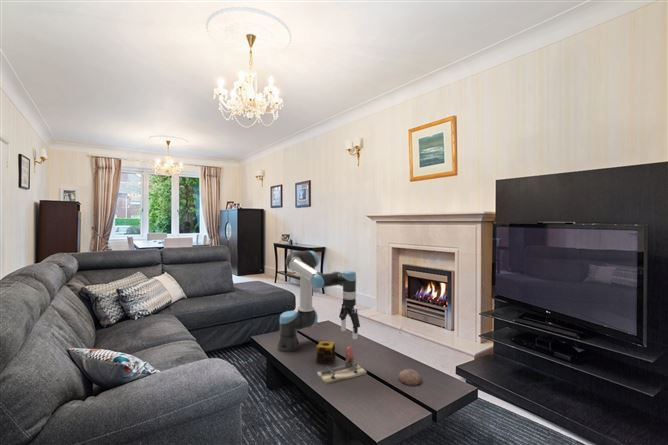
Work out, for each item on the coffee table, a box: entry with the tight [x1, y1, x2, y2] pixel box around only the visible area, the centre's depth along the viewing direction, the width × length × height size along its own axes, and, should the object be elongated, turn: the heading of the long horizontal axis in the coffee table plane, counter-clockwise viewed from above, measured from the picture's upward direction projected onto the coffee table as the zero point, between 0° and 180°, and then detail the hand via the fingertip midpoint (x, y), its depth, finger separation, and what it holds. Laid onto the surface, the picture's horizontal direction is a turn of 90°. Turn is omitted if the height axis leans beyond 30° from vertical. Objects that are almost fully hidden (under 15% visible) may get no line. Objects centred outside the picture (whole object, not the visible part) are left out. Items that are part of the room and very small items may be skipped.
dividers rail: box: [320, 362, 359, 378], centre depth 181 cm, size 9×23×3 cm, turn 117°
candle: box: [315, 340, 336, 365], centre depth 199 cm, size 10×10×10 cm
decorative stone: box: [397, 368, 422, 386], centre depth 174 cm, size 12×12×6 cm
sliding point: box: [344, 345, 357, 372], centre depth 184 cm, size 10×4×11 cm, turn 27°
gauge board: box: [317, 364, 368, 385], centre depth 181 cm, size 12×25×1 cm, turn 117°
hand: (349, 334), depth 187 cm, fingers open, 13 cm apart
